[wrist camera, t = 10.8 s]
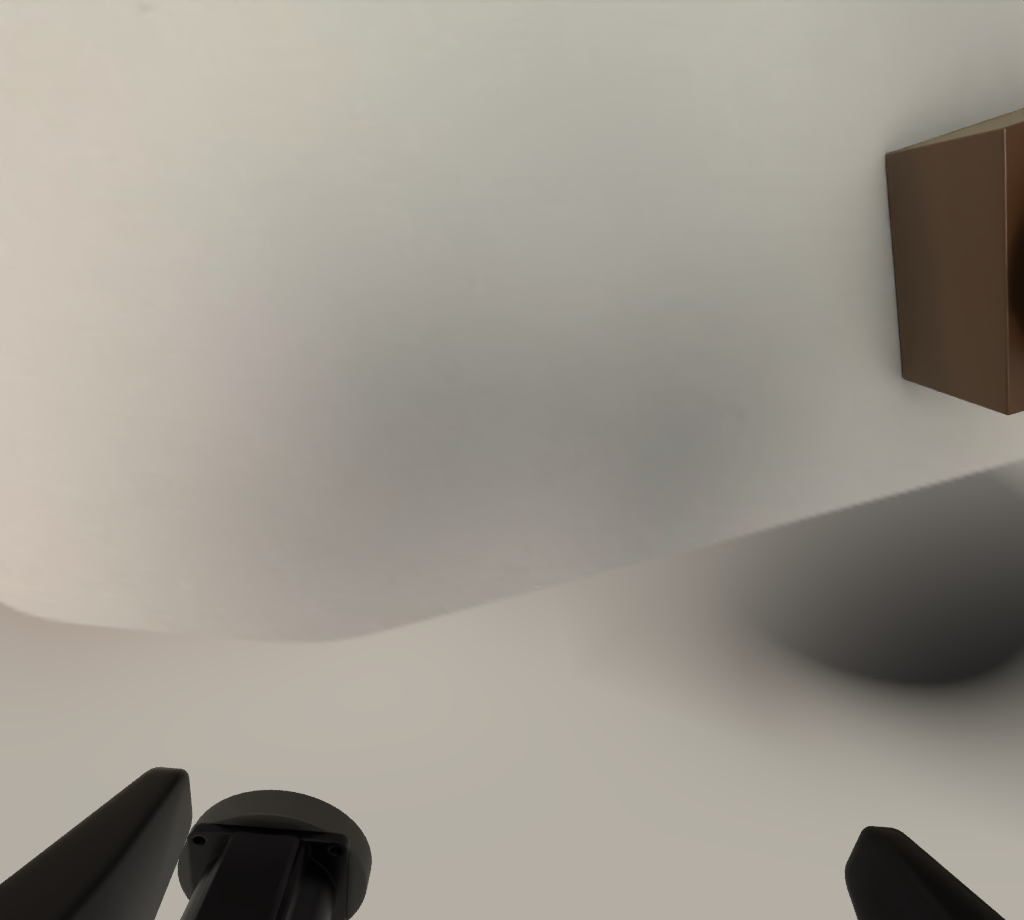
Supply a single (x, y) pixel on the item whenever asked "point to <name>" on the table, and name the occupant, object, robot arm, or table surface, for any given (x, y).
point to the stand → (962, 261)
